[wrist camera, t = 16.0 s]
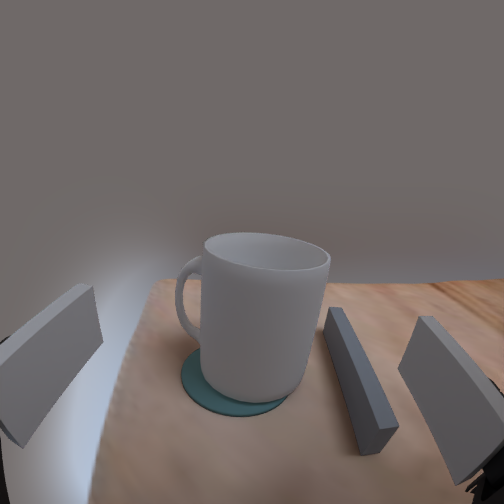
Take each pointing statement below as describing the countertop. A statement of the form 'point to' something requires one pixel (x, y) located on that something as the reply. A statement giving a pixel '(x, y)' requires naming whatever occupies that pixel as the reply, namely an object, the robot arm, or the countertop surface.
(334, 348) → the wall
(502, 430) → the robot arm
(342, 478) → the countertop surface
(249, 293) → the mug
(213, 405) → the pad
